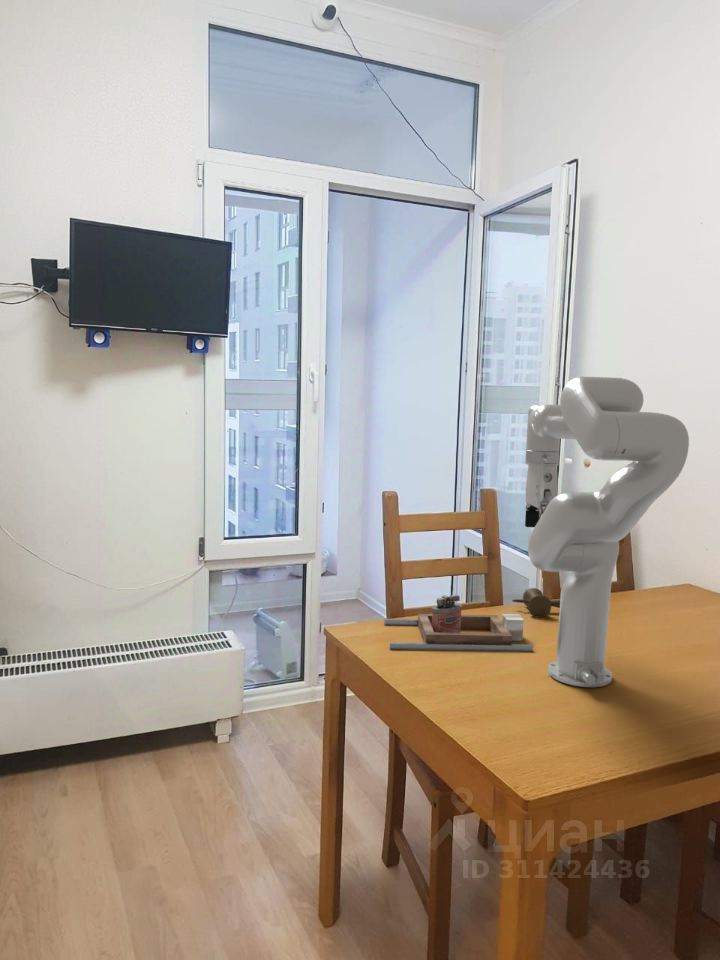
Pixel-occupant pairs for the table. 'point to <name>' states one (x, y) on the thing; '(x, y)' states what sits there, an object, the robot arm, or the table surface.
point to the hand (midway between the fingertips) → (537, 530)
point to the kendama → (537, 602)
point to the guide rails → (451, 645)
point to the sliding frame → (500, 630)
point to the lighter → (447, 615)
